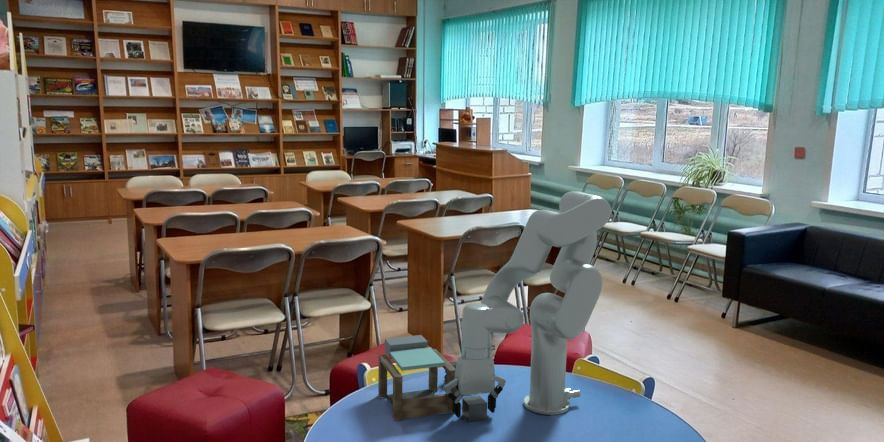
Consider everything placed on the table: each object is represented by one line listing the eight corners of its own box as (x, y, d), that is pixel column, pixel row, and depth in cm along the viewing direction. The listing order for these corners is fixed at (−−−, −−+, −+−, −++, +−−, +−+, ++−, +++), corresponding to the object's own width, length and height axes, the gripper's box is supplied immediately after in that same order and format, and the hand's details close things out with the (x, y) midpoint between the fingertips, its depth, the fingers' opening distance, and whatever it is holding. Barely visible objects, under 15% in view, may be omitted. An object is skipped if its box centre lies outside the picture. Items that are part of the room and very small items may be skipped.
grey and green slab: (423, 347, 202) (423, 334, 201) (445, 371, 184) (445, 356, 184) (382, 352, 198) (382, 338, 197) (400, 376, 180) (401, 361, 179)
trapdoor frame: (435, 388, 200) (435, 348, 198) (455, 412, 184) (456, 370, 182) (378, 395, 194) (378, 354, 193) (394, 421, 179) (395, 377, 177)
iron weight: (479, 413, 185) (479, 395, 184) (486, 421, 180) (487, 403, 179) (461, 415, 183) (462, 397, 182) (468, 423, 178) (469, 405, 177)
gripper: (500, 343, 185) (498, 403, 188) (439, 349, 179) (438, 411, 182) (512, 352, 178) (510, 414, 181) (449, 359, 172) (448, 423, 175)
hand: (474, 413), depth 181 cm, fingers open, 9 cm apart
